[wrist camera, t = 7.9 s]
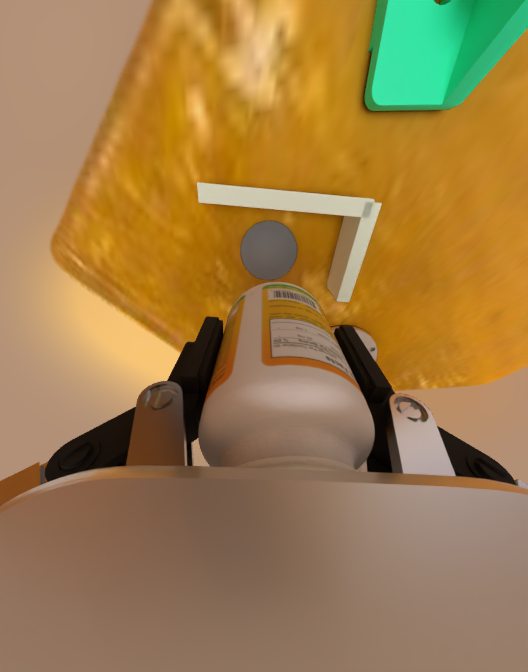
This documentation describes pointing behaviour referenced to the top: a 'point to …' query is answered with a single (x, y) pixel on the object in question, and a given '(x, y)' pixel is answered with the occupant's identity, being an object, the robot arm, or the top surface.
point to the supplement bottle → (283, 389)
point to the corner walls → (355, 211)
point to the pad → (268, 250)
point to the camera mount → (437, 50)
